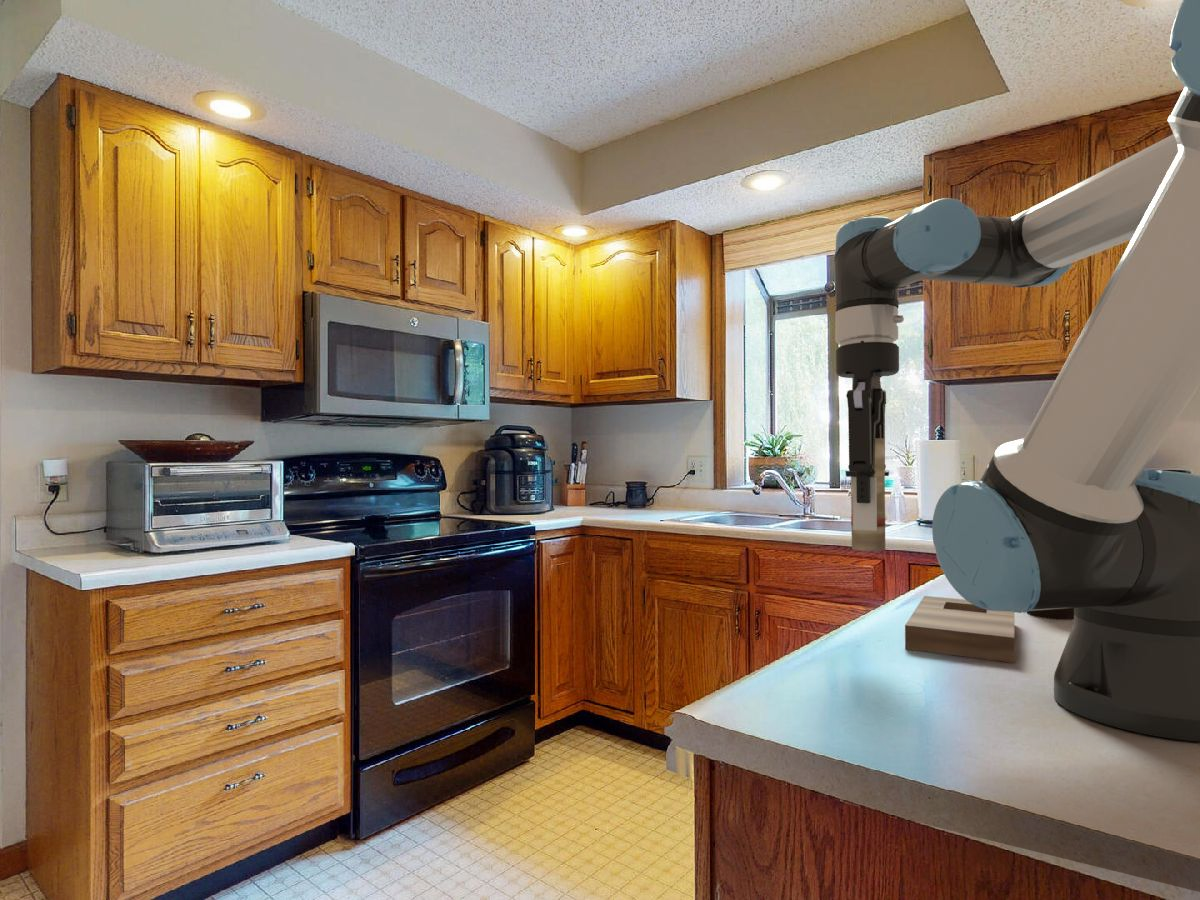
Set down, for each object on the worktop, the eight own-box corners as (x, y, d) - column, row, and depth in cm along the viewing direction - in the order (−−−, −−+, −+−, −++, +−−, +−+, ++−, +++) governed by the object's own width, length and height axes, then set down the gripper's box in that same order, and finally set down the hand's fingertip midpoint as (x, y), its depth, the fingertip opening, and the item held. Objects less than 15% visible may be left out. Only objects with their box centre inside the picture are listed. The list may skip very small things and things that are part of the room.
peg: (883, 551, 86) (881, 438, 86) (848, 549, 88) (847, 438, 88) (887, 548, 89) (886, 438, 89) (854, 546, 91) (853, 439, 91)
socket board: (1014, 663, 83) (1014, 637, 83) (905, 648, 89) (905, 625, 89) (1014, 624, 102) (1014, 604, 102) (924, 615, 108) (924, 595, 108)
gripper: (888, 330, 80) (889, 535, 79) (907, 351, 94) (909, 524, 94) (820, 337, 83) (822, 532, 83) (849, 355, 98) (851, 521, 98)
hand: (868, 527), depth 88 cm, fingers closed on peg, 4 cm apart
